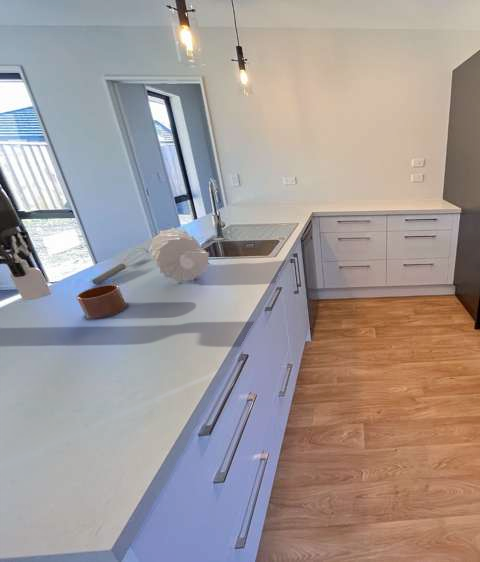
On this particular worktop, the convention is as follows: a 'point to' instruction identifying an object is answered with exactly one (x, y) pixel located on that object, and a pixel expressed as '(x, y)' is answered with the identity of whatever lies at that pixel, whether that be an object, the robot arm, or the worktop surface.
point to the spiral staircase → (179, 255)
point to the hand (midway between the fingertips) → (25, 272)
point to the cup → (101, 301)
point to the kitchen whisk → (114, 270)
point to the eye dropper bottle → (31, 283)
